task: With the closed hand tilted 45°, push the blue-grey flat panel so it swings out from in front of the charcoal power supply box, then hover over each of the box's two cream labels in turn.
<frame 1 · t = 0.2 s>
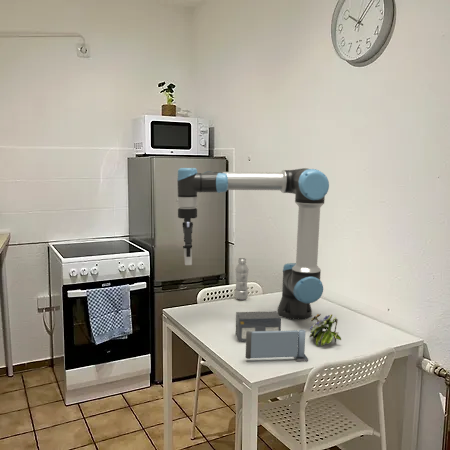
hand: (187, 261, 194), 28 cm above the table, fingers open, 13 cm apart
passion flower: (324, 342, 188), on the table
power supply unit: (257, 337, 190), on the table
blue-grey flat panel: (275, 344, 169), point 6 cm above the table, hinge at 0.0°
arm mount: (300, 359, 171), on the table
plastic bottle: (241, 299, 240), on the table
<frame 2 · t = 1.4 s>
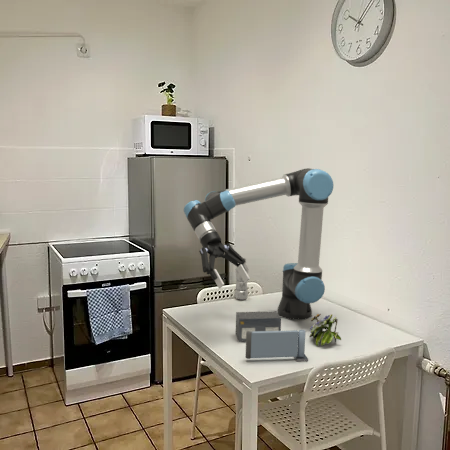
hand: (234, 283, 179), 23 cm above the table, fingers open, 12 cm apart
nothing on the table moved.
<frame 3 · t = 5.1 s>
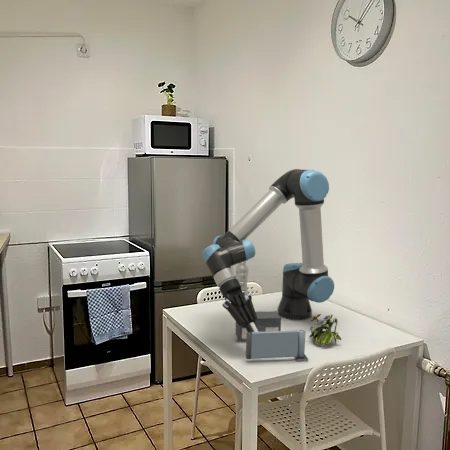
hand: (258, 340, 170), 6 cm above the table, fingers closed
blue-grey flat panel: (275, 344, 169), point 6 cm above the table, hinge at 1.7°, touching gripper
everything else where it was.
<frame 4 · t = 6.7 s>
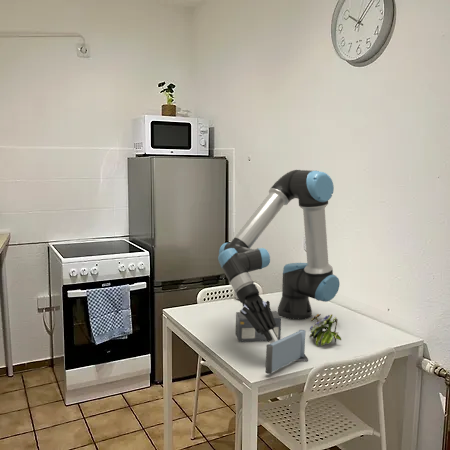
hand: (277, 348, 164), 6 cm above the table, fingers closed
blue-grey flat panel: (286, 350, 164), point 6 cm above the table, hinge at 40.2°, touching gripper
everything else where it was.
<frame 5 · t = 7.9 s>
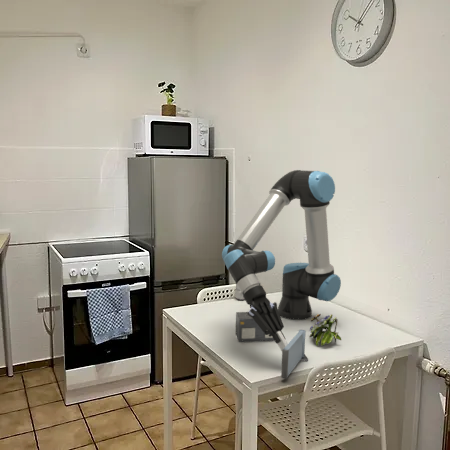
hand: (286, 350, 162), 7 cm above the table, fingers closed
blue-grey flat panel: (293, 352, 162), point 6 cm above the table, hinge at 57.5°, touching gripper
everything else where it was.
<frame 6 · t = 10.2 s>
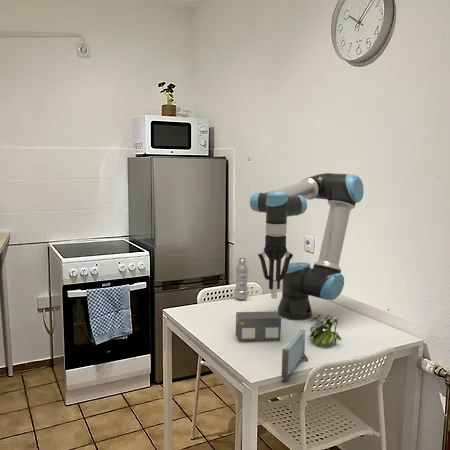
hand: (273, 297, 181), 18 cm above the table, fingers closed
blue-grey flat panel: (293, 352, 162), point 6 cm above the table, hinge at 57.7°
everything else where it was.
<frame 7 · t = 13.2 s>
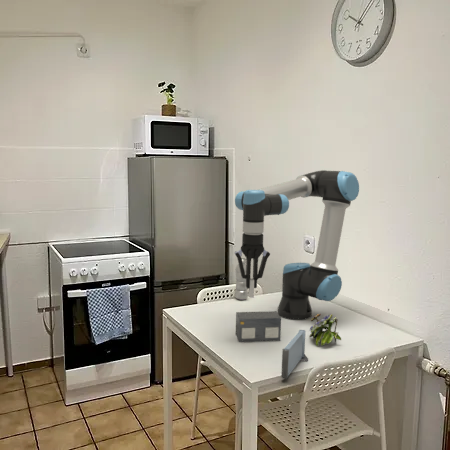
hand: (251, 296, 180), 18 cm above the table, fingers closed
nothing on the table moved.
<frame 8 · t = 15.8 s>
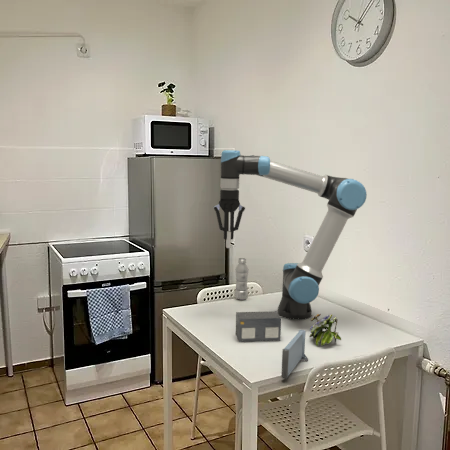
hand: (228, 247, 200), 32 cm above the table, fingers closed
nothing on the table moved.
at the end: blue-grey flat panel at +58° (first picture: +0°) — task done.
